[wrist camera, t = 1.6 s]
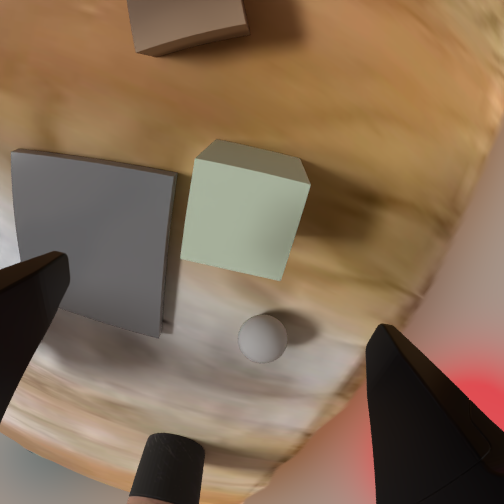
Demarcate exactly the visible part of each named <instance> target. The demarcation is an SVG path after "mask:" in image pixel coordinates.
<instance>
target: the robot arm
mask: <svg viewBox="0 0 504 504" xmlns="http://www.w3.org/2000/svg"><path fill="white" fill-rule="evenodd" d="M69 284H70V269H69V259H68V256H67V254H66V253H63V252H59V251H52V252H49V253H46V254H43V255H40V256H37V257H34V258H31V259H28V260H26V261H23V262H20V263H17V264H14V265H12V266H9V267H6V268H4V269H1V270H0V423H1V420H2V418H3V416H4V414H5V411H6V409H7V407H8V405H9V403H10V400H11V398H12V396H13V394H14V392H15V390H16V388H17V386H18V384H19V382H20V380H21V378H22V376H23V374H24V372H25V370H26V368H27V366H28V364H29V362H30V360H31V359H32V357H33V355H34V353H35V351H36V349H37V348H38V346H39V344H40V342H41V340H42V339H43V337H44V335H45V333H46V332H47V330H48V328H49V326H50V324H51V322H52V320H53V318H54V316H55V314H56V311H57V309H58V307H59V305H60V303H61V301H62V299H63V297H64V295H65V293H66V291H67V289H68V287H69ZM366 375H367V399H368V408H369V416H370V425H371V435H372V445H373V457H374V470H375V485H376V504H504V432H503V431H502V430H501V429H500V428H499V427H498V426H497V425H496V424H495V423H493V422H492V421H491V420H490V419H489V418H488V417H487V416H486V415H485V414H484V413H483V412H482V411H481V410H480V409H479V408H478V407H477V406H476V405H475V404H474V403H473V402H472V401H471V400H469V398H468V397H467V396H466V395H465V394H464V393H463V392H462V391H461V390H460V389H459V388H458V387H457V386H456V385H455V384H454V383H453V382H452V381H451V380H450V379H449V378H448V377H447V376H446V375H445V374H444V373H442V371H441V370H440V369H438V368H437V367H436V366H435V365H434V364H433V363H432V362H431V361H430V360H429V359H428V358H427V357H426V356H425V355H424V354H423V353H422V352H421V351H420V350H419V349H418V348H417V347H416V346H414V345H413V344H412V343H411V342H410V341H409V340H408V339H407V338H406V337H405V336H404V335H403V334H402V333H401V332H400V331H399V330H397V329H396V328H395V327H394V326H393V325H388V324H380V325H378V327H377V328H376V330H375V331H374V333H373V335H372V337H371V338H370V340H369V342H368V344H367V346H366Z"/></svg>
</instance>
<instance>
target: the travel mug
mask: <svg viewBox="0 0 504 504" xmlns="http://www.w3.org/2000/svg"><path fill="white" fill-rule="evenodd" d="M204 458H205V451H204V449H203V448H202V446H200V445H199V444H198V443H196V442H194V441H192V440H190V439H187V438H185V437H181V436H178V435H173V434H166V433H157V434H153V435H151V436H149V438H148V440H147V442H146V445H145V448H144V451H143V454H142V457H141V460H140V463H139V466H138V469H137V473H136V476H135V479H134V482H133V485H132V488H131V491H130V495H129V498H128V502H127V504H199V499H200V491H201V482H202V474H203V466H204Z"/></svg>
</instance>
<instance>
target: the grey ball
mask: <svg viewBox="0 0 504 504" xmlns="http://www.w3.org/2000/svg"><path fill="white" fill-rule="evenodd" d="M287 341H288V337H287V332H286V329H285V327H284V326H283V324H282V323H281V322H280V321H279V320H278V319H276V318H274V317H272V316H269V315H257V316H254V317H251V318H250V319H248V320H247V321H246V322H245V323H244V324H243V325H242V327H241V329H240V331H239V334H238V344H239V347H240V350H241V352H242V353H243V354H244V356H245V357H246V358H248V359H249V360H251V361H253V362H256V363H270V362H272V361H274V360H276V359H278V358H279V357H280V356H281V355H282V354H283V352H284V351H285V349H286V346H287Z"/></svg>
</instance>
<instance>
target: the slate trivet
mask: <svg viewBox="0 0 504 504" xmlns="http://www.w3.org/2000/svg"><path fill="white" fill-rule="evenodd" d="M177 174H178V173H176V172H171V171H165V170H160V169H154V168H149V167H143V166H137V165H132V164H126V163H120V162H113V161H107V160H101V159H94V158H87V157H80V156H73V155H66V154H58V153H50V152H42V151H34V150H25V149H16V150H14V151H11V176H12V193H13V206H14V216H15V225H16V233H17V240H18V247H19V253H20V259H21V262H23V261H26V260H28V259H31V258H34V257H37V256H40V255H43V254H46V253H49V252H52V251H59V252H63V253H66V254H67V256H68V259H69V269H70V284H69V287H68V289H67V291H66V293H65V295H64V297H63V299H62V301H61V303H60V305H59V307H58V308H61V309H64V310H67V311H69V312H72V313H75V314H78V315H81V316H84V317H87V318H90V319H93V320H97V321H100V322H103V323H106V324H109V325H113V326H116V327H119V328H123V329H126V330H129V331H133V332H136V333H140V334H144V335H147V336H151V337H155V338H158V339H159V337H160V335H161V332H162V319H163V303H164V290H165V277H166V266H167V256H168V246H169V236H170V227H171V219H172V211H173V203H174V195H175V188H176V181H177Z"/></svg>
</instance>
